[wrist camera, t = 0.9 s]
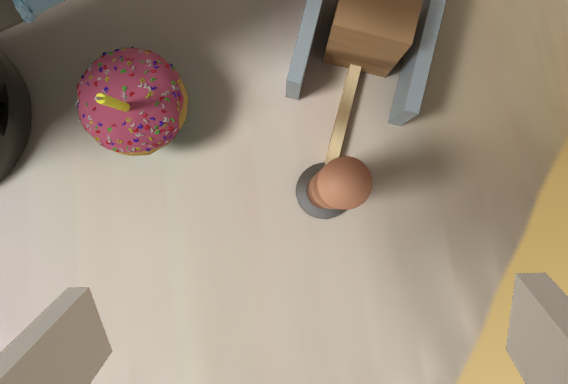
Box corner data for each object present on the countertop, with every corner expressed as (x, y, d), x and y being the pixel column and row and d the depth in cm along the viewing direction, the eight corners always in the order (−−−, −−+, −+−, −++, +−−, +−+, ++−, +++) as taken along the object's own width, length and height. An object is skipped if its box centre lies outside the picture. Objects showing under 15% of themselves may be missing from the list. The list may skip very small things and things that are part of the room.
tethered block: (348, 226, 34) (384, 235, 22) (284, 209, 34) (286, 210, 22) (400, 15, 35) (460, -80, 23) (337, 0, 35) (366, -104, 23)
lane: (400, 126, 34) (418, 113, 30) (285, 96, 34) (286, 80, 30) (435, -19, 35) (458, -52, 30) (322, -47, 35) (328, -85, 30)
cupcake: (213, 139, 34) (177, 103, 22) (127, 177, 34) (43, 161, 22) (176, 55, 34) (120, -27, 22) (90, 92, 34) (-12, 29, 22)
